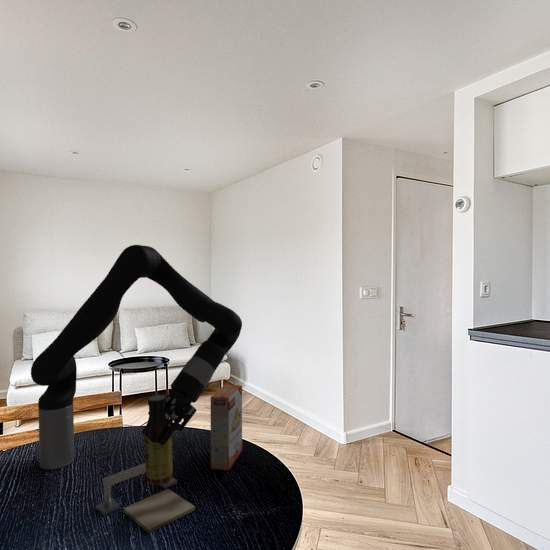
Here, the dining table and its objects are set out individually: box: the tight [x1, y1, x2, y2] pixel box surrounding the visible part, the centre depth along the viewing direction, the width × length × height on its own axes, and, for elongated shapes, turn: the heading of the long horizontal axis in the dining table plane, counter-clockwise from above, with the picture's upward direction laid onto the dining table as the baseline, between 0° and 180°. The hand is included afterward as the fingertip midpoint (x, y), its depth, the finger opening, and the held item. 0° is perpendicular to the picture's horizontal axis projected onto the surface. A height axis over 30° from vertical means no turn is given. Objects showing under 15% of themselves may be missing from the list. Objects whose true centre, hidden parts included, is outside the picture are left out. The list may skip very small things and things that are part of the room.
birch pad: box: [122, 488, 196, 534], centre depth 98 cm, size 12×12×1 cm
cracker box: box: [210, 384, 243, 471], centre depth 125 cm, size 14×6×21 cm, turn 168°
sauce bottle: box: [143, 394, 174, 486], centre depth 99 cm, size 7×6×20 cm
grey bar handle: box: [95, 462, 178, 516], centre depth 105 cm, size 4×20×7 cm, turn 136°
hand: (152, 439), depth 97 cm, fingers closed on sauce bottle, 6 cm apart
